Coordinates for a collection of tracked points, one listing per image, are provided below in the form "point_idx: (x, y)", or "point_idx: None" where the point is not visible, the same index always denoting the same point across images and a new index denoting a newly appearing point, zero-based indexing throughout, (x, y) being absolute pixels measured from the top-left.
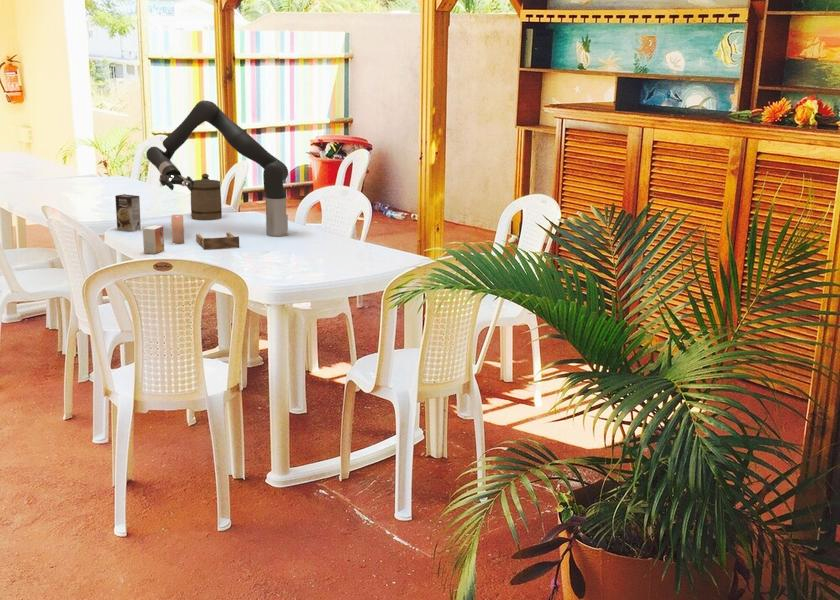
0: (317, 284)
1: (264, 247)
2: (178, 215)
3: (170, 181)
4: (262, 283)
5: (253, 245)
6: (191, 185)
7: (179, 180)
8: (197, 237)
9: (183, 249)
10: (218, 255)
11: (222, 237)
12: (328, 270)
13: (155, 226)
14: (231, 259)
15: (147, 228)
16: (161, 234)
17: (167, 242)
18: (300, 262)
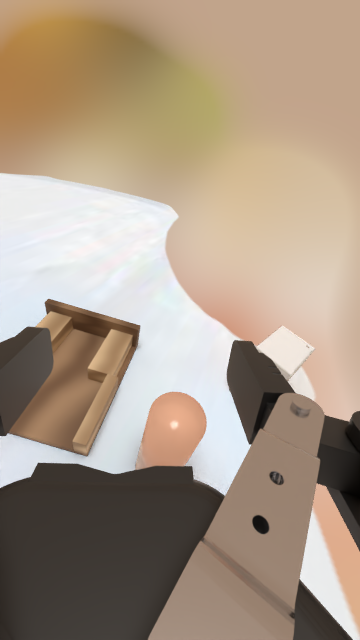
0: (127, 196)
1: (7, 293)
2: (168, 422)
3: (273, 410)
4: (169, 215)
5: (4, 317)
6: (20, 335)
7: (78, 467)
8: (98, 421)
9: (181, 373)
10: (141, 298)
11: (88, 314)
12: (75, 201)
13: (279, 351)
14: (139, 272)
15: (302, 343)
16: None
17: None
18: (67, 223)
